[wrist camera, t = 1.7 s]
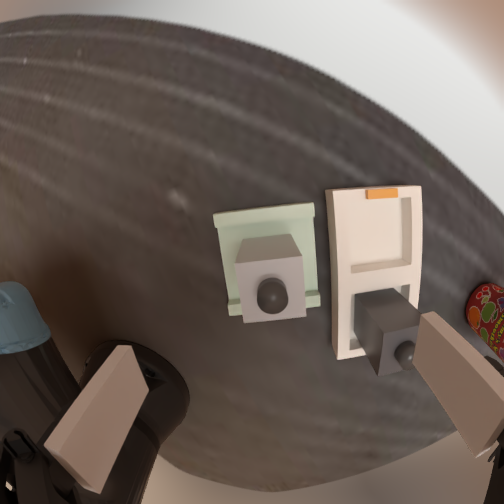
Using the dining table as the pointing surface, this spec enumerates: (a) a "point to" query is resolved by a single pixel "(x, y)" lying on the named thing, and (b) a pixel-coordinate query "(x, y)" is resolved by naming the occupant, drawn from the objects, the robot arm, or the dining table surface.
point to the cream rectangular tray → (375, 273)
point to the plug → (270, 278)
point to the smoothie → (488, 316)
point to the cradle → (268, 224)
